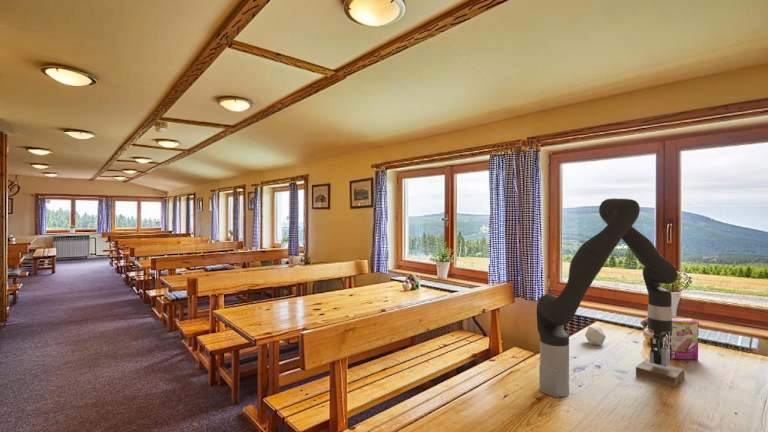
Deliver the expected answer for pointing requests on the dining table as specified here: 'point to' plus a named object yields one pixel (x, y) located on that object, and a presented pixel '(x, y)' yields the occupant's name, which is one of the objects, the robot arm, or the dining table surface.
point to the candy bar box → (683, 339)
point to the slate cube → (662, 357)
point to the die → (595, 336)
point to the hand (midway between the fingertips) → (659, 361)
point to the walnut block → (660, 373)
